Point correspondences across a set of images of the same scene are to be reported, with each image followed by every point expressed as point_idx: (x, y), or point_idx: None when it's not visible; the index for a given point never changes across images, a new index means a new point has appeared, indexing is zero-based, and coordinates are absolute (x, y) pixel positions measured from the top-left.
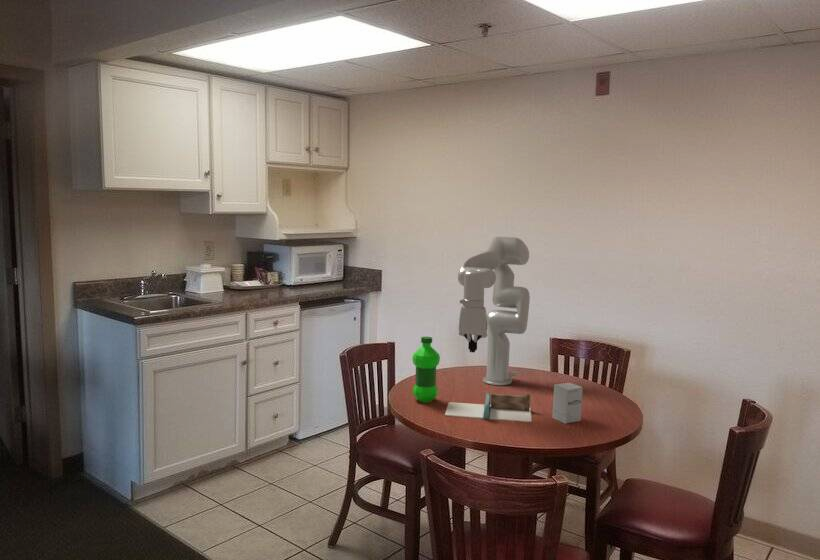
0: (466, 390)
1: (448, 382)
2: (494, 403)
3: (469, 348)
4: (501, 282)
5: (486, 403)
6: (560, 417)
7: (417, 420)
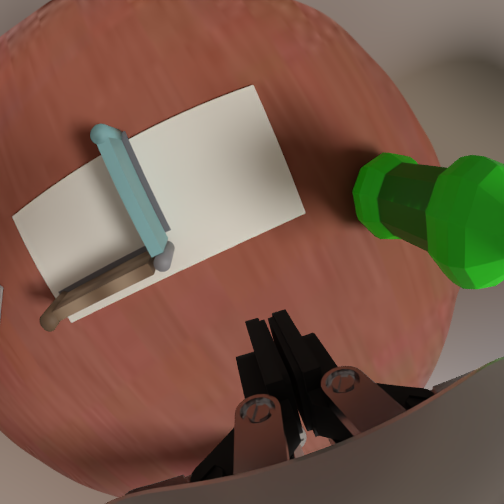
0: None
1: (374, 368)
2: (141, 257)
3: (303, 337)
4: None
5: (105, 145)
6: None
7: (300, 15)
